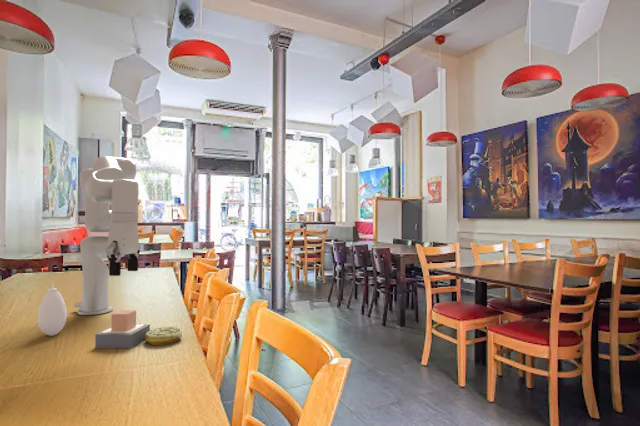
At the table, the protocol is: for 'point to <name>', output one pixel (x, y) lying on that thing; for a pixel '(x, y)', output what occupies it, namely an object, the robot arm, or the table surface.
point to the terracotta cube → (123, 320)
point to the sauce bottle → (52, 312)
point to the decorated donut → (163, 335)
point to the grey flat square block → (121, 337)
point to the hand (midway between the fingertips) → (124, 273)
